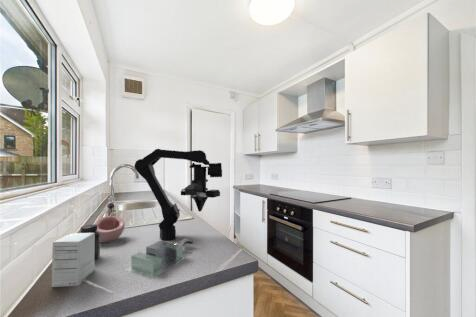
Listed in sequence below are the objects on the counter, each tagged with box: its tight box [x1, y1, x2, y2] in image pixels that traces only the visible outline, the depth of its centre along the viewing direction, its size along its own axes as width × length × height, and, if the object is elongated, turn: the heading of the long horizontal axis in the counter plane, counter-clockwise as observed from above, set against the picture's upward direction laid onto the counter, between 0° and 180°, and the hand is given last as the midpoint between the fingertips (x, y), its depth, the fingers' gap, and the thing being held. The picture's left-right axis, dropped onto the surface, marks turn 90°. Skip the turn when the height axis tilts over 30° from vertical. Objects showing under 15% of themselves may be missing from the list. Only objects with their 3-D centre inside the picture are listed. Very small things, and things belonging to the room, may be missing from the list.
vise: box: [124, 248, 195, 280], centre depth 70 cm, size 12×20×5 cm, turn 154°
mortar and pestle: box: [93, 215, 126, 243], centre depth 89 cm, size 12×12×12 cm
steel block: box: [145, 240, 171, 265], centre depth 68 cm, size 4×6×6 cm
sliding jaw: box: [169, 238, 194, 261], centre depth 76 cm, size 10×12×4 cm
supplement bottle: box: [79, 223, 101, 262], centre depth 72 cm, size 7×7×12 cm
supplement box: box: [51, 232, 95, 288], centre depth 60 cm, size 7×7×13 cm
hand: (200, 211), depth 92 cm, fingers closed
